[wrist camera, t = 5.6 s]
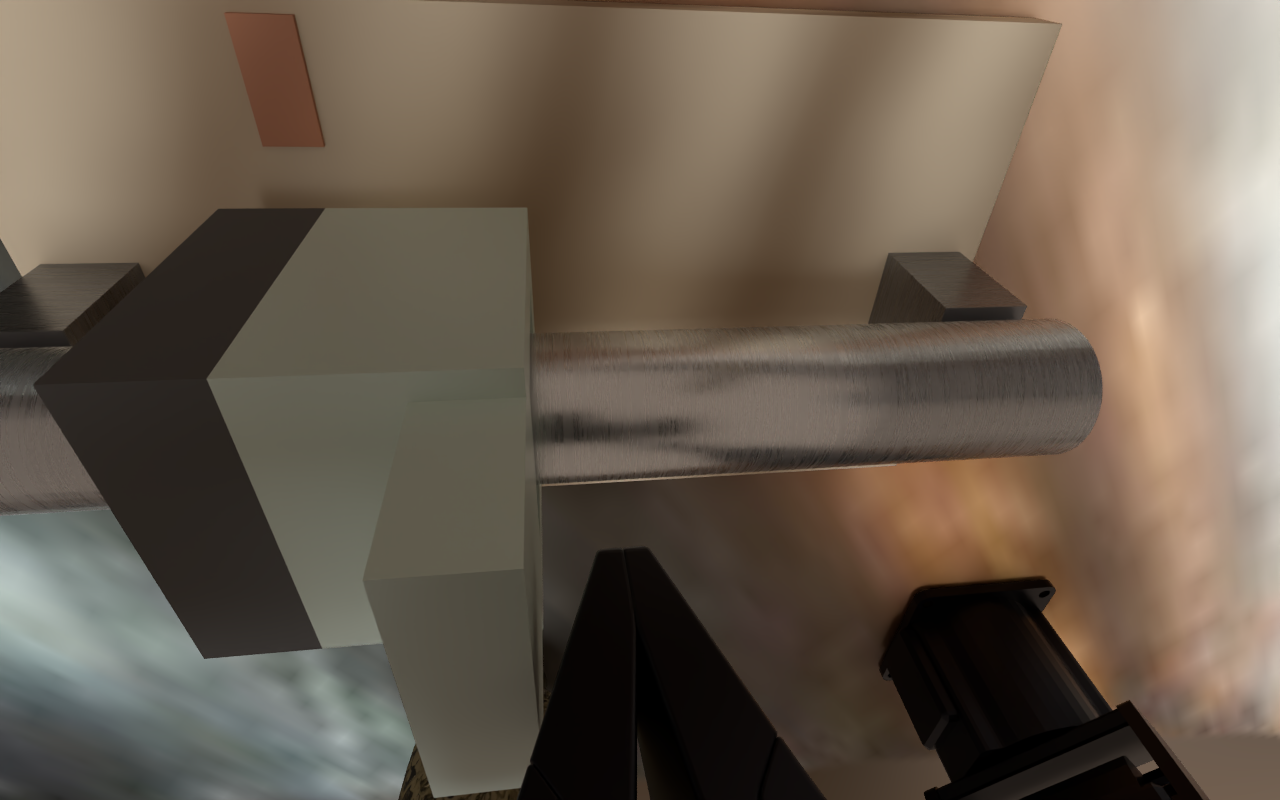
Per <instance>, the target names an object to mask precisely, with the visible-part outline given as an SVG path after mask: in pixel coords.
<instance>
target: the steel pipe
mask: <svg viewBox="0 0 1280 800" xmlns="http://www.w3.org/2000/svg"><path fill="white" fill-rule="evenodd" d="M144 279H145V276H144V274H143V271H142V269H141V267H140V265H139V263H80V264H40V265H38V266H37V267H35V268H34V269H33V270H31V271H30V272H29V273H27V274H26V275H24V276H23V277H22V278H20V279H19V280H17V281H16V282H15V283H13V284H12V285H10V286H9V287H8V288H6V289H5V290H4V291H2V292H1V293H0V516H5V515H22V514H39V513H57V512H74V511H91V510H108V509H110V508H109V506H108V504H107V503H106V501H105V500H104V498H103V497H102V495H101V493H100V492H99V490H98V489H97V487H96V485H95V484H94V482H93V481H92V479H91V477H90V476H89V474H88V473H87V471H86V469H85V468H84V466H83V465H82V463H81V461H80V460H79V458H78V457H77V455H76V453H75V452H74V450H73V449H72V447H71V446H70V444H69V442H68V441H67V439H66V438H65V436H64V434H63V433H62V431H61V430H60V428H59V426H58V425H57V423H56V422H55V420H54V418H53V417H52V415H51V414H50V412H49V410H48V409H47V407H46V406H45V404H44V402H43V401H42V399H41V398H40V396H39V394H38V393H37V391H36V390H35V388H34V387H33V384H34V383H35V382H36V381H37V380H38V379H39V378H40V377H41V376H42V375H44V374H45V373H46V372H47V371H48V370H49V369H50V368H51V367H52V366H53V365H54V364H55V363H56V362H57V361H58V360H59V359H60V358H61V357H62V356H64V355H65V354H66V353H67V352H68V351H69V350H70V349H71V348H72V347H73V346H74V345H75V344H76V343H77V342H78V341H79V340H80V339H81V338H82V337H84V336H85V335H86V334H87V333H88V332H89V331H90V330H91V329H92V328H93V327H94V326H95V325H96V324H97V323H98V322H99V321H100V320H101V319H103V318H104V317H105V316H106V315H107V314H108V313H109V312H110V311H111V310H112V309H113V308H114V307H115V306H116V305H117V304H118V303H119V302H120V301H121V300H123V299H124V298H125V297H126V296H127V295H128V294H129V293H130V292H131V291H132V290H133V289H134V288H135V287H136V286H137V285H138V284H139V283H140V282H141V281H143V280H144ZM1026 308H1027V306H1026V305H1025V304H1024V303H1022V302H1021V301H1020V300H1019V299H1017V298H1016V297H1015V296H1014V295H1013V294H1011V293H1010V292H1009V291H1008V290H1006V289H1005V288H1004V287H1003V286H1001V285H1000V284H999V283H998V282H996V281H995V280H994V279H993V278H991V277H990V276H989V275H988V274H986V273H985V272H984V271H983V270H981V269H980V268H979V267H978V266H976V265H975V264H974V263H973V262H971V261H970V260H969V259H968V258H966V257H965V256H964V255H963V254H962V253H960V252H906V253H888V256H887V260H886V263H885V267H884V270H883V274H882V277H881V281H880V284H879V287H878V291H877V294H876V298H875V301H874V305H873V308H872V312H871V315H870V318H869V322H868V324H846V325H810V326H775V327H740V328H704V329H669V330H634V331H598V332H563V333H530V378H529V389H530V404H531V418H532V432H533V447H534V461H535V475H536V485H538V484H555V483H572V482H589V481H606V480H624V479H641V478H658V477H675V476H692V475H710V474H727V473H744V472H761V471H778V470H795V469H813V468H830V467H847V466H864V465H881V464H899V463H916V462H933V461H950V460H967V459H984V458H1002V457H1019V456H1036V455H1053V454H1061V453H1065V452H1067V451H1070V450H1072V449H1073V448H1075V447H1077V446H1078V445H1079V444H1080V443H1082V442H1083V440H1084V439H1085V438H1086V437H1087V436H1088V435H1089V433H1090V432H1091V430H1092V428H1093V426H1094V424H1095V422H1096V420H1097V417H1098V414H1099V411H1100V407H1101V401H1102V376H1101V371H1100V366H1099V363H1098V360H1097V357H1096V354H1095V352H1094V350H1093V348H1092V346H1091V345H1090V343H1089V342H1088V340H1087V339H1086V338H1085V337H1084V335H1083V334H1082V333H1081V332H1080V331H1079V330H1077V329H1076V328H1075V327H1073V326H1072V325H1070V324H1069V323H1066V322H1064V321H1061V320H1057V319H1022V317H1023V314H1024V312H1025V310H1026ZM1021 319H1022V320H1021Z"/></svg>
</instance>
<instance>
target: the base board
mask: <svg viewBox="0 0 1280 800" xmlns="http://www.w3.org/2000/svg"><path fill="white" fill-rule="evenodd" d="M1061 26H1062V24H1060V23H1056V22H1051V21H1046V20H1042V19H1037V18H1023V17H997V16H970V15H944V14H917V13H891V12H864V11H837V10H811V9H784V8H758V7H731V6H705V5H678V4H652V3H625V2H599V1H572V0H0V239H1V240H2V242H3V244H4V246H5V247H6V249H7V251H8V253H9V254H10V256H11V258H12V260H13V261H14V263H15V265H16V267H17V268H18V270H19V272H20V274H21V275H22V277H23V276H24V275H26V274H27V273H29V272H30V271H31V270H33V269H34V268H35V267H37V266H38V265H40V264H80V263H139V265H140V267H141V269H142V271H143V274H144V276H145V278H146V277H147V276H148V275H149V274H150V273H151V272H152V271H153V270H154V269H155V268H156V267H157V266H158V265H159V264H160V263H162V262H163V261H164V260H165V259H166V258H167V257H168V256H169V255H170V254H171V253H172V252H173V251H174V250H175V249H176V248H177V247H178V246H179V245H180V244H182V243H183V242H184V241H185V240H186V239H187V238H188V237H189V236H190V235H191V234H192V233H193V232H194V231H195V230H196V229H197V228H198V227H199V226H200V225H202V224H203V223H204V222H205V221H206V220H207V219H208V218H209V217H210V216H211V215H212V214H213V213H214V212H215V211H216V210H217V209H242V208H527V211H528V227H529V244H530V261H531V277H532V294H533V311H534V327H535V333H563V332H598V331H634V330H669V329H704V328H740V327H775V326H810V325H846V324H868V322H869V318H870V315H871V312H872V308H873V305H874V301H875V298H876V294H877V291H878V287H879V284H880V281H881V277H882V274H883V270H884V267H885V263H886V260H887V256H888V253H906V252H960V253H962V254H963V255H964V256H965V257H966V258H968V259H969V260H970V261H971V262H973V260H974V258H975V255H976V252H977V250H978V247H979V244H980V242H981V239H982V236H983V234H984V231H985V228H986V226H987V223H988V220H989V218H990V215H991V212H992V210H993V207H994V204H995V202H996V199H997V196H998V194H999V191H1000V188H1001V186H1002V183H1003V180H1004V178H1005V175H1006V172H1007V170H1008V167H1009V165H1010V162H1011V159H1012V157H1013V154H1014V151H1015V149H1016V146H1017V143H1018V141H1019V138H1020V135H1021V133H1022V130H1023V127H1024V125H1025V122H1026V119H1027V117H1028V114H1029V111H1030V109H1031V106H1032V103H1033V101H1034V98H1035V95H1036V93H1037V90H1038V87H1039V85H1040V82H1041V79H1042V77H1043V74H1044V71H1045V69H1046V66H1047V63H1048V61H1049V58H1050V55H1051V53H1052V50H1053V48H1054V45H1055V42H1056V40H1057V37H1058V34H1059V32H1060V29H1061ZM896 465H897V464H881V465H864V466H847V467H830V468H813V469H795V470H778V471H761V472H744V473H727V474H710V475H692V476H675V477H658V478H641V479H624V480H606V481H589V482H572V483H555V484H541V486H556V485H573V484H590V483H607V482H625V481H642V480H659V479H676V478H693V477H710V476H727V475H744V474H761V473H778V472H795V471H812V470H829V469H846V468H863V467H880V466H896Z"/></svg>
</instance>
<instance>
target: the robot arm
mask: <svg viewBox="0 0 1280 800" xmlns="http://www.w3.org/2000/svg"><path fill="white" fill-rule="evenodd" d="M1055 591H1056V590H1055V588H1054V587H1053V585H1052V584H1051V583H1050V581H1048V580H1033V581H1021V582H1010V583H998V584H986V585H975V586H963V587H951V588H940V589H928V590H923V591H921V592H918V593H917V594H916V595H915V596H914V597H913V599H912V601H911V603H910V605H909V607H908V609H907V612H906V614H905V616H904V618H903V620H902V622H901V624H900V626H899V628H898V631H897V633H896V635H895V637H894V639H893V641H892V643H891V645H890V647H889V649H888V652H887V654H886V656H885V658H884V660H883V662H882V664H881V666H880V669H879V670H880V673H881V675H882V677H883V679H884V680H893V682H894V684H895V686H896V688H897V691H898V693H899V695H900V697H901V699H902V701H903V703H904V706H905V708H906V710H907V712H908V714H909V716H910V719H911V721H912V723H913V725H914V727H915V729H916V731H917V734H918V736H919V738H920V740H921V742H922V744H923V745H924V746H925V747H926V748H927V749H928V750H935V749H936V752H937V754H938V756H939V758H940V760H941V762H942V764H943V766H944V768H945V770H946V772H947V774H948V777H949V778H950V781H951V783H949V784H947V785H945V786H942V787H940V788H937V787H934V788H931V789H929V790H927V791H925V792H924V796H925V799H926V800H1209V798H1208V797H1207V796H1206V794H1205V793H1204V791H1203V790H1202V789H1201V787H1200V786H1199V785H1198V784H1197V782H1196V781H1195V780H1194V778H1193V777H1192V776H1191V774H1190V773H1189V772H1188V771H1187V769H1186V768H1185V767H1184V765H1183V764H1182V763H1181V761H1180V760H1179V759H1178V758H1177V756H1176V755H1175V754H1174V752H1173V751H1172V750H1171V748H1170V747H1169V746H1168V745H1167V743H1166V742H1165V741H1164V739H1163V738H1162V737H1161V735H1160V734H1159V733H1158V732H1157V731H1156V730H1155V728H1154V727H1153V726H1152V725H1151V724H1150V723H1149V722H1148V720H1147V719H1146V718H1145V717H1144V716H1143V715H1142V713H1141V712H1140V711H1139V710H1138V709H1137V708H1136V707H1135V705H1134V704H1133V703H1132V702H1131V701H1130V700H1128V701H1126V702H1124V703H1121V704H1119V705H1117V706H1116V707H1117V709H1115V710H1112V709H1111V708H1110V706H1109V705H1108V703H1107V702H1106V701H1105V699H1104V698H1103V696H1102V695H1101V694H1100V692H1099V691H1098V690H1097V688H1096V687H1095V685H1094V684H1093V683H1092V681H1091V680H1090V679H1089V677H1088V676H1087V674H1086V673H1085V672H1084V670H1083V669H1082V667H1081V666H1080V665H1079V663H1078V662H1077V661H1076V659H1075V658H1074V656H1073V655H1072V654H1071V652H1070V651H1069V649H1068V648H1067V647H1066V645H1065V644H1064V643H1063V641H1062V640H1061V638H1060V637H1059V636H1058V634H1057V633H1056V631H1055V630H1054V629H1053V627H1052V626H1051V625H1050V623H1049V622H1048V620H1047V619H1046V618H1045V616H1044V615H1043V613H1042V611H1043V610H1044V608H1045V607H1046V605H1047V604H1048V602H1049V601H1050V599H1051V598H1052V596H1053V595H1054V594H1055ZM776 737H777V731H776V729H775V728H774V726H773V725H772V723H771V722H770V721H769V719H768V718H767V716H766V715H765V713H764V712H763V711H762V709H761V708H760V706H759V705H758V703H757V702H756V700H755V699H754V698H753V696H752V695H751V693H750V692H749V690H748V689H747V688H746V686H745V685H744V683H743V682H742V680H741V679H740V678H739V676H738V675H737V673H736V672H735V670H734V669H733V668H732V666H731V665H730V663H729V662H728V660H727V659H726V657H725V656H724V655H723V653H722V652H721V650H720V649H719V647H718V646H717V645H716V643H715V642H714V640H713V639H712V637H711V636H710V635H709V633H708V632H707V630H706V629H705V627H704V626H703V625H702V623H701V622H700V620H699V619H698V617H697V616H696V615H695V613H694V612H693V610H692V609H691V607H690V606H689V604H688V603H687V602H686V600H685V599H684V597H683V596H682V594H681V593H680V592H679V590H678V589H677V587H676V586H675V584H674V583H673V582H672V580H671V579H670V577H669V576H668V574H667V573H666V572H665V570H664V569H663V567H662V566H661V564H660V563H659V561H658V560H657V559H656V557H655V556H654V554H653V553H652V551H651V550H650V549H649V548H648V547H646V546H635V547H625V548H623V549H622V548H607V549H600V550H598V552H597V553H596V556H595V559H594V562H593V565H592V568H591V571H590V575H589V578H588V581H587V584H586V587H585V590H584V593H583V596H582V599H581V603H580V606H579V609H578V612H577V615H576V618H575V621H574V624H573V627H572V631H571V634H570V637H569V640H568V643H567V646H566V649H565V652H564V656H563V659H562V662H561V665H560V668H559V671H558V674H557V677H556V680H555V684H554V687H553V690H552V693H551V696H550V699H549V702H548V705H547V708H546V712H545V715H544V718H543V721H542V724H541V727H540V730H539V733H538V736H537V740H536V743H535V746H534V749H533V752H532V755H531V758H530V765H528V767H527V769H526V773H525V776H524V779H523V782H522V785H521V788H520V791H519V794H518V797H517V800H637V738H638V743H639V747H640V752H641V757H642V762H643V766H644V771H645V776H646V781H647V785H648V790H649V795H650V800H827V799H826V798H825V797H824V795H823V794H822V793H821V791H820V790H819V789H818V787H817V786H816V785H815V783H814V782H813V781H812V779H811V778H810V777H809V775H808V774H807V772H806V771H805V770H804V768H803V767H802V766H801V764H800V763H799V762H798V760H797V759H796V757H795V756H794V755H793V753H792V752H791V750H790V749H789V747H788V746H787V744H786V743H785V742H784V740H783V739H782V738H781V737H777V738H776ZM1152 760H1154V761H1155V762H1156V764H1157V765H1158V766H1159V768H1158V769H1156V770H1153V771H1150V772H1148V773H1146V774H1143V775H1142V774H1141V772H1140V771H1139V770H1138V769H1137V768H1136V767H1137V766H1140V765H1142V764H1145V763H1147V762H1150V761H1152Z"/></svg>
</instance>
